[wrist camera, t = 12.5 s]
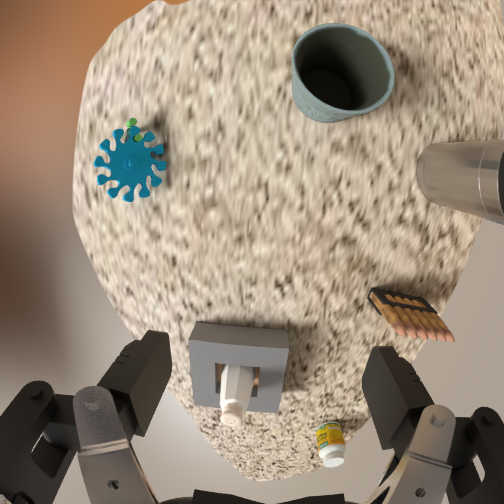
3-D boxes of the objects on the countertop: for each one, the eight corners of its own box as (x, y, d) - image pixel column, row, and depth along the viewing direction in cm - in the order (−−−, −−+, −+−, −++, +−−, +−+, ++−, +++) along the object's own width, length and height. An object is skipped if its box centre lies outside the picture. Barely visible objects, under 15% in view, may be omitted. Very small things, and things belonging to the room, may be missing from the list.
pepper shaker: (253, 383, 42) (248, 435, 32) (220, 378, 42) (209, 428, 32) (259, 359, 41) (255, 412, 30) (224, 353, 41) (211, 404, 30)
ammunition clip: (424, 298, 39) (461, 336, 27) (419, 308, 39) (455, 347, 28) (370, 287, 39) (402, 329, 27) (366, 298, 39) (396, 342, 28)
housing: (287, 329, 41) (289, 348, 37) (277, 393, 45) (277, 412, 41) (196, 321, 42) (188, 339, 37) (200, 385, 46) (194, 404, 41)
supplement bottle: (333, 435, 49) (339, 469, 40) (311, 433, 49) (315, 468, 40) (345, 421, 47) (353, 456, 38) (322, 418, 47) (328, 455, 38)
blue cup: (362, 73, 30) (396, 40, 19) (354, 138, 33) (391, 127, 22) (290, 55, 30) (299, 12, 19) (279, 122, 33) (284, 99, 22)
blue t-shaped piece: (165, 203, 35) (92, 201, 29) (149, 202, 40) (86, 202, 33) (172, 122, 34) (102, 112, 27) (156, 131, 38) (94, 124, 31)
